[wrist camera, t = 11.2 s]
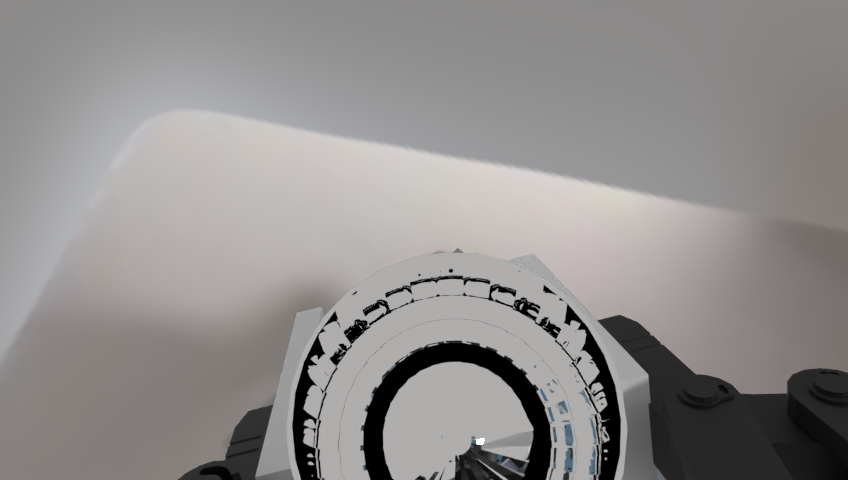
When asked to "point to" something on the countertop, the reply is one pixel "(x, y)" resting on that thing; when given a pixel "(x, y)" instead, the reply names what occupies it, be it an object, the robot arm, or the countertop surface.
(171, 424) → the countertop surface
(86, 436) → the countertop surface
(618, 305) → the countertop surface
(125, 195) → the countertop surface
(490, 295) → the wineglass
